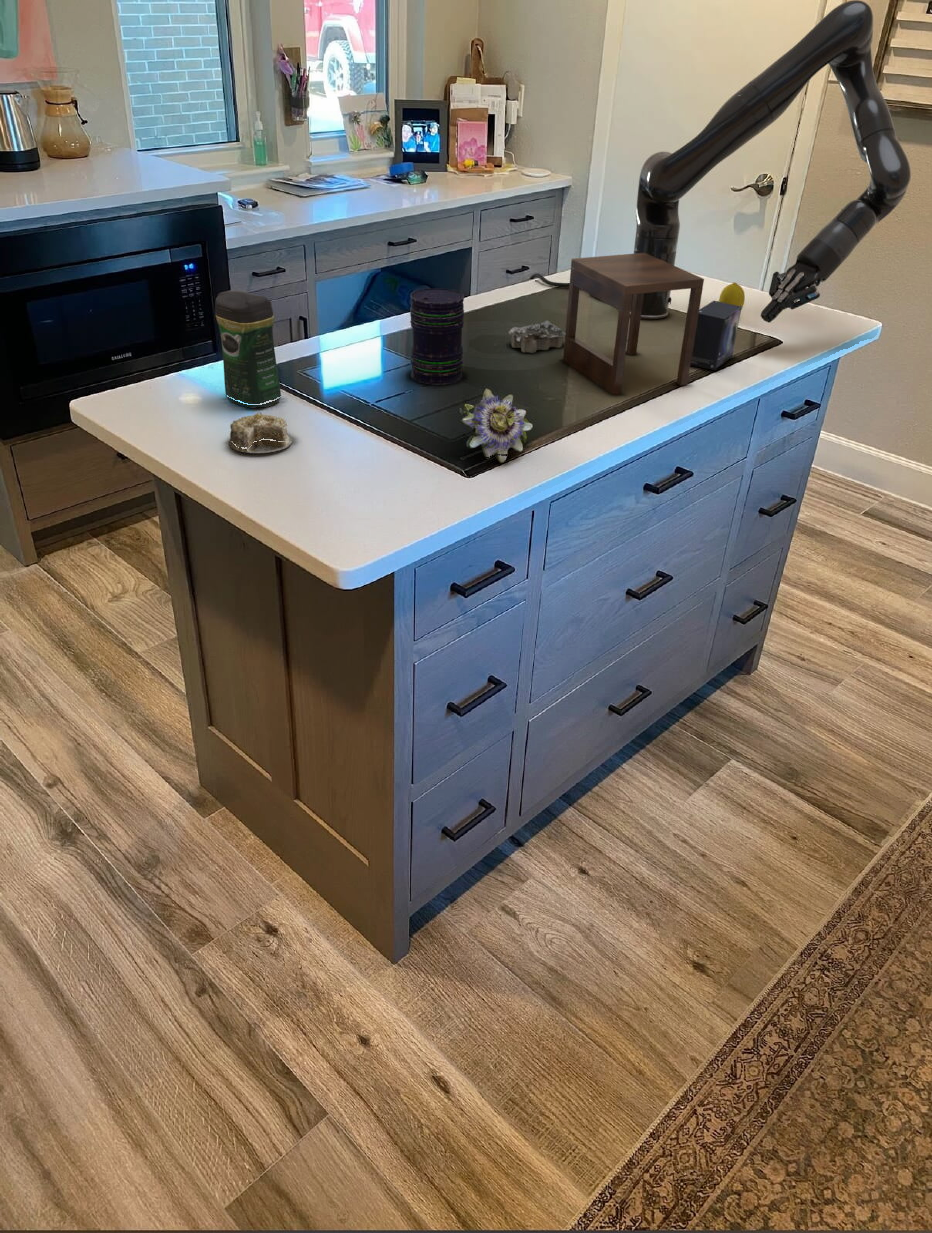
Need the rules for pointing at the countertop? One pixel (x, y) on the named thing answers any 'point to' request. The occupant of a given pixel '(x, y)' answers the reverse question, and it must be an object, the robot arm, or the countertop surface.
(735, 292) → the lemon
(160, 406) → the countertop surface
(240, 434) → the cake
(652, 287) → the shelf
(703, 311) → the small box
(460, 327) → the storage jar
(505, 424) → the passion flower
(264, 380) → the coffee jar
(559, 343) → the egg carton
